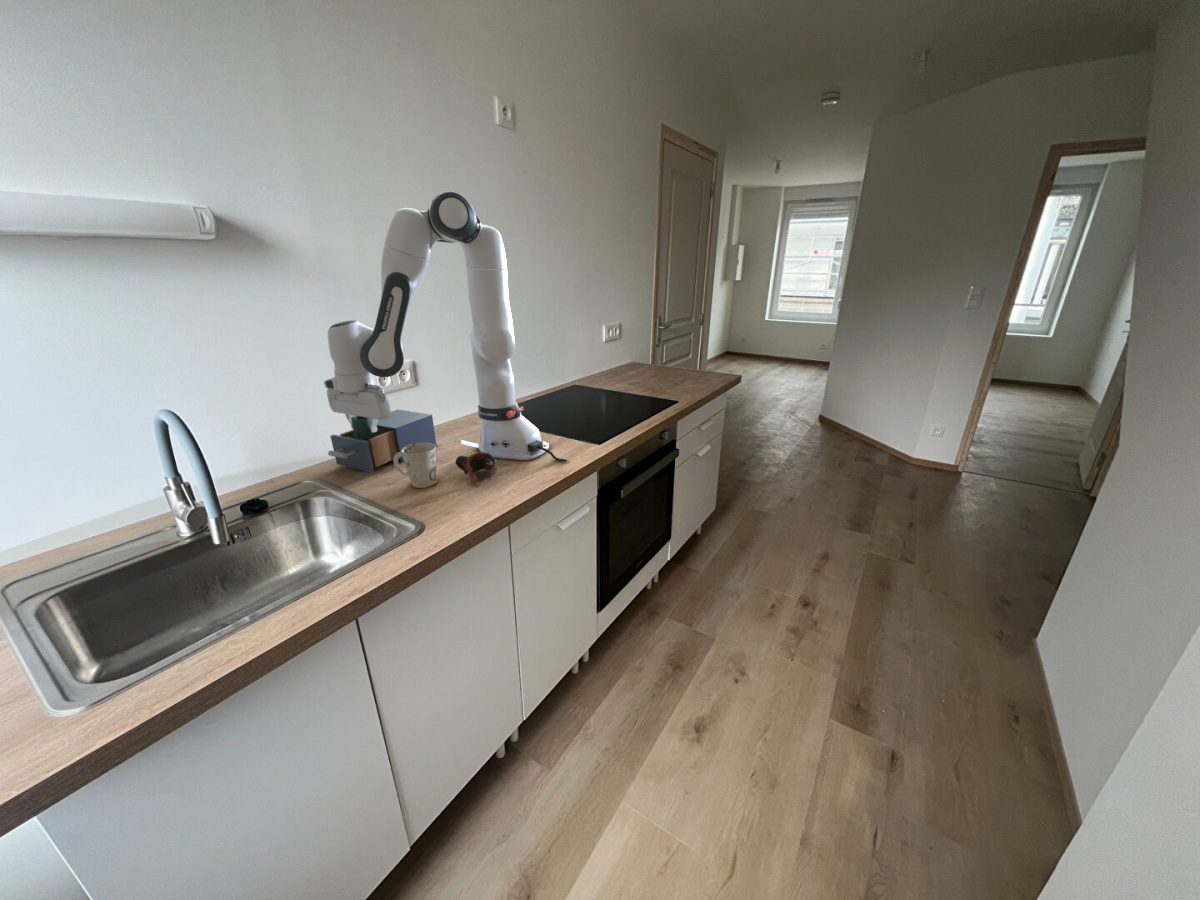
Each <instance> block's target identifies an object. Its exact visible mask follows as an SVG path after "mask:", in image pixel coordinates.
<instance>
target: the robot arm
mask: <svg viewBox="0 0 1200 900" xmlns="http://www.w3.org/2000/svg"><path fill="white" fill-rule="evenodd" d="M502 237H503V236H502V235H501V233H500V231H499V230H498V229H496V228H495V227H493V226H490V225H489V224H482V221H481V220H480V218H479V216H478V215H477V213H476V211H475V209H474V207H473V205H472V204H471V203H470V201H469V200H468V199H467V198H466V197H465V196H464V195H463V194H461V193H459V192H456V191H453V190H445V191H442V192H439V193H438V194H437V195H435V197H433V199H432V201H431V203H430V205H429V207H428V208H427V209H426V210H422V211H421V210H418V209H415V208H411V207H403V208H400V209H398V210H396V211H395V213H394V215H393V218H392V220H391V222H390V225H389V227H388V230H387V232H386V236H385V239H384V243H383V248H382V254H381V263H380V277H381V278H380V279H381V280H380V281H381V297H380V303H379V307H378V311H377V316H376V319H375V324H374V328H373V327H369V326H367V325H365V324H363V323H362V322H359V321H358V320H353V319H352V320H345V321H341V322H337V323H334V324H332V325H331V326H330V327H329V328H328V330H327V344H328V348H329V350H328V351H329V355H330V358H331V361H332V362H333V366H334V367H333V374H334V377H331V378H328V379H326V380H324V381H323V385H324V388H325V389H327V390H326V397H327V400H328V405H329V407H330V410H332V412H333V413H337V414H344V415H345V418H346V419H347V421H348V422H349V424H350V427H351V430H353V426H352V421H351V418H352V417H354V416H360V417H366V418H368V419H369V421H370V426H368V429H369V430H368V431H369V432H372V433H374V432H377V423H378V420H383V419H386V418H389V417H390V416H391V412H392V410H391V406H390V402H389V399H388V397H387V394H386V393H385V390H384V389H383V388H382V387H381V386H380V385H377V384H374V380H373V376H375V377H379V378H389V377H392V376H395V375H396V374H398V373H399V372H400V371H401V370H402V368H403V366H404V359H405V358H404V355H405V347H404V343H403V342H402V334H403V330H404V326H405V320H406V317H407V312H408V309H409V306H410V304H411V302H412V300H413V298H414V296H415V295H416V293H417V292H418V290H419V289H420V287H421V285H422V283H423V281H424V279H425V276H426V274H427V271H428V267H429V262H430V260H431V259H430V258H431V255H432V251H433V248H434V246H435V245H436V243H437V242H439V243H449V244H452V243H457V244H458V245H460V247H461V248H462V250H463V253H464V257H465V269H466V271H465V272H466V282H467V292H468V293H467V295H468V301H469V302H468V303H469V307H470V313H471V319H472V320H471V321H472V328H471V330H470V333H469V340H470V347H471V353H472V360H473V367H474V372H475V373H474V374H475V378H476V379H475V380H476V386H477V396H478V405H477V410H478V411H477V412H478V417H479V420H480V433H479V443H475V442H470V441H467V440H463V439H462V440H461V444H462V445H465V446H470V447H474V448H477V449H478V451H479V452H485V453H489V454H491V455H492V456H493V457H494V458H495V459H506V460H517V461H529V460H532V459H536V458H538V457H539V456H541V455H543V454H544V453H547V454H549V455H550V456H551V457H552V458H553V459H554V460H555V461H557V462H563V463H567V461H568V460H567V459H565V458H559V457H557V456H555V454H554V453H553V452H552V451H551V450H549V449H550V445H549V442H546V441H544V440H542V435H541V432H540V430H539V428H538V427H536V426H535V424H533V423H532V422H530V421H529V419H527V418H526V417H524V416H523V415H522V411H524V405H522V406H520V407H519V404H518V403H517V401H516V388H515V377H514V374H513V368H512V364H511V357H512V356H513V355H514V353H515V350H516V339H515V331H514V323H513V317H512V311H511V305H510V298H509V283H508V281H509V280H508V266H507V258H506V257H507V256H506V251H505V247H504V246H505V245H504V242H503V238H502Z"/></svg>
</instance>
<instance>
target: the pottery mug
mask: <svg viewBox="0 0 1200 900" xmlns="http://www.w3.org/2000/svg"><path fill="white" fill-rule="evenodd" d="M488 459H490V461H491V463H492V464H491V463H489V462H487V460H488ZM455 464H456V466H457V467H458V468H459V469H460V470H462V471H463V473H464V475H469V476H470V480H469V482H470V484H472V485H474V486H476V485H477V484H478V483H480V482H483V481H486V480H489V479H491V478H492V477H493V476H494V475H495V474H496V472H497V471H498V470H500V469H499V467H498V465H497V460H496V458H494V457H493V456H492V455H491V454H489V453H485V452H481V451H476V452H474V453H472V454H470V455H469V456H465V455H459V456H457V457H456V459H455Z"/></svg>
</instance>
